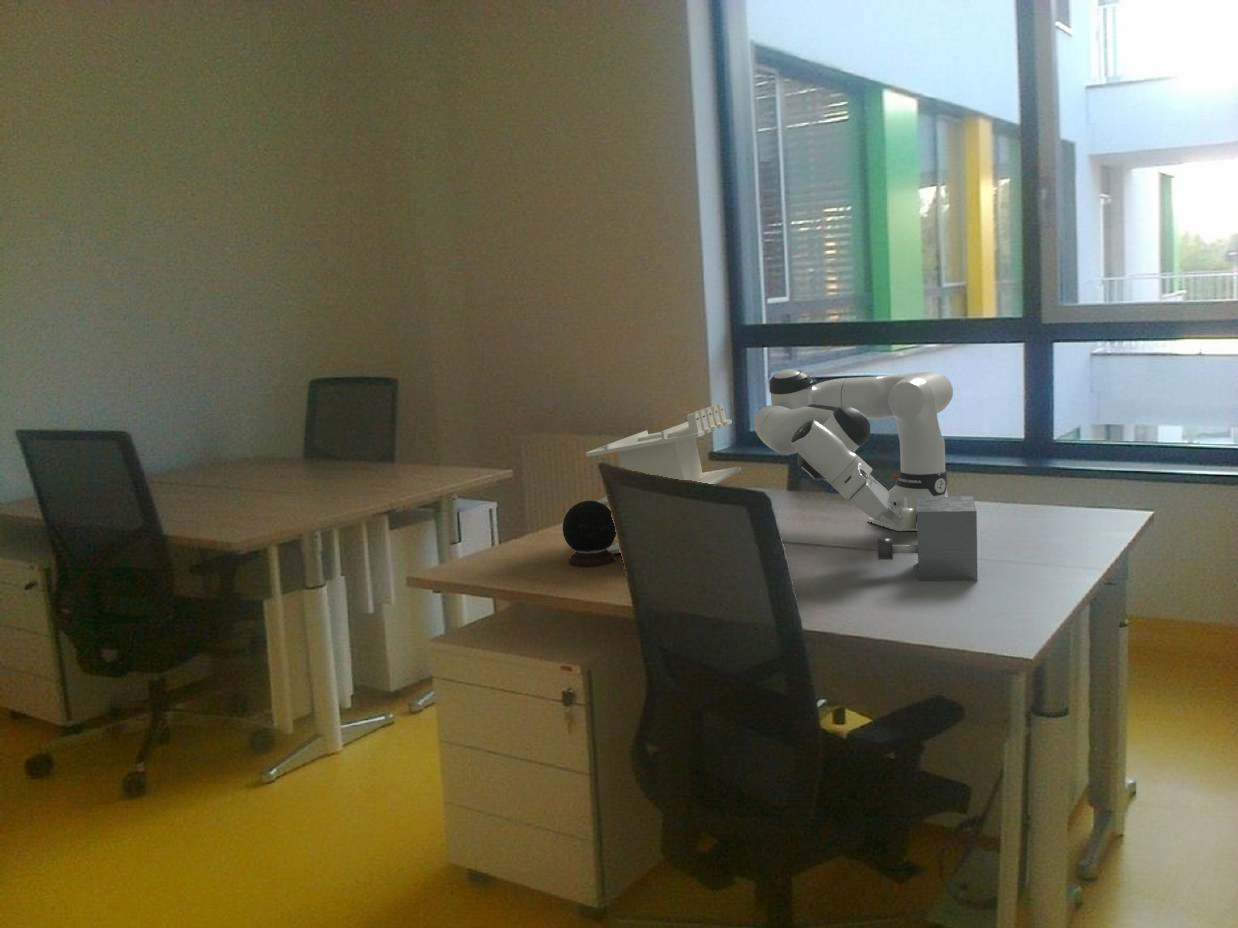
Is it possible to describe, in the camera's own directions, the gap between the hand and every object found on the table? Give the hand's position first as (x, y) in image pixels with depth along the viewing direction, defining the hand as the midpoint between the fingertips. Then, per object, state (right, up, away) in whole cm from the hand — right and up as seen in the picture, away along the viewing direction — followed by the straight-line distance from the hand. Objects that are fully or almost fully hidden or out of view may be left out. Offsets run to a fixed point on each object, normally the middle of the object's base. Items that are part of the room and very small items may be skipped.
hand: (899, 521), depth 257 cm
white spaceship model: (-49, -8, +38) cm, 62 cm away
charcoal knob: (-1, -8, -7) cm, 10 cm away
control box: (+9, -11, -5) cm, 15 cm away
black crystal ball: (-69, -11, +25) cm, 74 cm away
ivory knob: (+6, -2, -1) cm, 6 cm away
